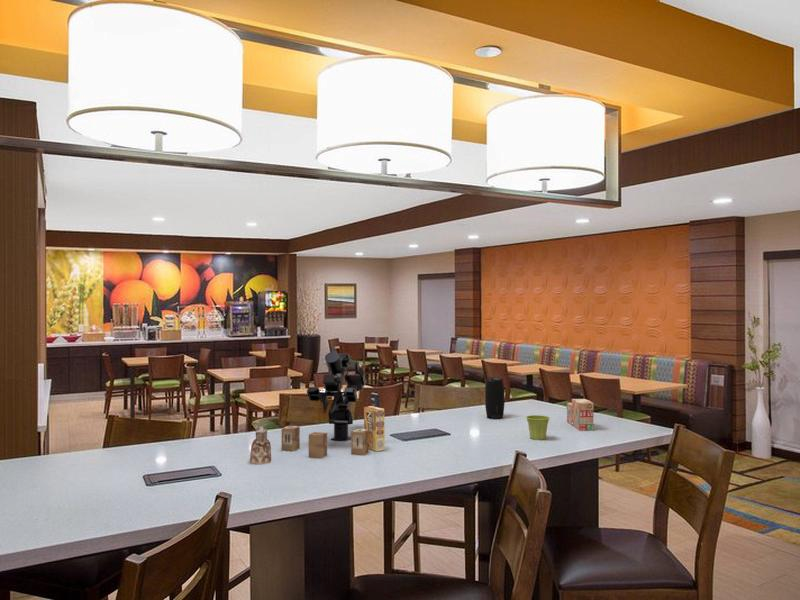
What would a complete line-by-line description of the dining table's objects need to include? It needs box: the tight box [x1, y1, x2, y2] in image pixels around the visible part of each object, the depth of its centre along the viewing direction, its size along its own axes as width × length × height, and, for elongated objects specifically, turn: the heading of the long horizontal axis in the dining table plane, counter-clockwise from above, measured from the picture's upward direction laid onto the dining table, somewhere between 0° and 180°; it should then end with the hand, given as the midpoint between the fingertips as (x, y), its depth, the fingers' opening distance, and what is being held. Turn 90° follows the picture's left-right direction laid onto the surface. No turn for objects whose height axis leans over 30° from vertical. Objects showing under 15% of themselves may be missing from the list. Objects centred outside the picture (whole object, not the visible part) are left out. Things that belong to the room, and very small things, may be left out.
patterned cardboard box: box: [566, 398, 595, 432], centre depth 268 cm, size 21×6×12 cm, turn 179°
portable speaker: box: [484, 376, 506, 420], centre depth 290 cm, size 9×9×20 cm
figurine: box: [249, 424, 272, 465], centre depth 202 cm, size 7×7×12 cm
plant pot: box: [525, 414, 551, 441], centre depth 241 cm, size 9×9×9 cm
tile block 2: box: [350, 428, 370, 456], centre depth 215 cm, size 5×5×8 cm
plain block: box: [308, 431, 328, 459], centre depth 210 cm, size 5×5×8 cm
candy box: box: [363, 405, 386, 452], centre depth 222 cm, size 9×4×15 cm, turn 33°
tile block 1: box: [281, 425, 301, 452], centre depth 221 cm, size 5×5×8 cm
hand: (327, 412), depth 222 cm, fingers closed
